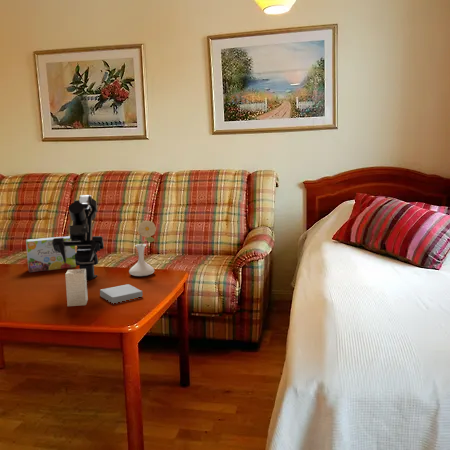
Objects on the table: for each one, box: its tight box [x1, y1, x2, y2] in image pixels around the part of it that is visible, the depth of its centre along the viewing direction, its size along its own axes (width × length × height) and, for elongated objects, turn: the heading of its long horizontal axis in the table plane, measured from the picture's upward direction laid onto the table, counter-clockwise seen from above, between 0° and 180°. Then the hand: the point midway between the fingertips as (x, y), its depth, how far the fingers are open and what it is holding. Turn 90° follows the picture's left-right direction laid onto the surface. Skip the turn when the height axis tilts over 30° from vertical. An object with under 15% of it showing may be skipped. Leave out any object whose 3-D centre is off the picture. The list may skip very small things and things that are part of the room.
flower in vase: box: [128, 220, 157, 277], centre depth 199 cm, size 13×11×25 cm
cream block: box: [64, 268, 89, 307], centre depth 163 cm, size 6×6×12 cm
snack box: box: [25, 235, 77, 273], centre depth 212 cm, size 21×6×15 cm, turn 117°
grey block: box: [99, 283, 144, 305], centre depth 170 cm, size 12×12×3 cm
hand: (77, 262), depth 169 cm, fingers open, 9 cm apart
